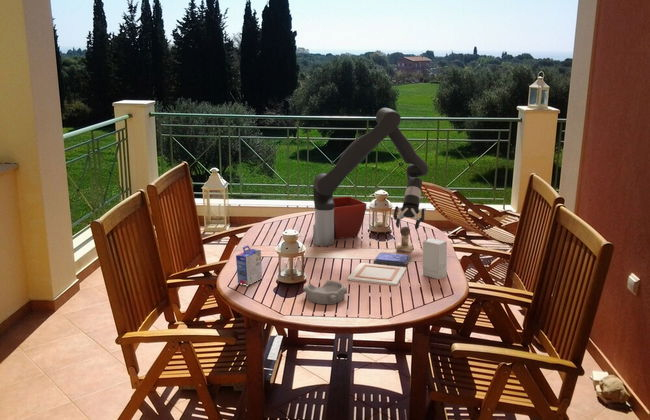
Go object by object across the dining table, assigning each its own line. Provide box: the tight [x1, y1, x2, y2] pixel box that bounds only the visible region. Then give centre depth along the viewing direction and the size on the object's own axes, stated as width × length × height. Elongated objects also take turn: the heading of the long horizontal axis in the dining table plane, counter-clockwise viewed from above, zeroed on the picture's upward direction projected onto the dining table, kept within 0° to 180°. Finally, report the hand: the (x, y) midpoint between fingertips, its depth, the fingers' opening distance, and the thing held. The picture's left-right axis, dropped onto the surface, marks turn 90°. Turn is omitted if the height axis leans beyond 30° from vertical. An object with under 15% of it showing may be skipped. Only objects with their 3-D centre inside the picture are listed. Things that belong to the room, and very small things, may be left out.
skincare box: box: [422, 237, 448, 280], centre depth 255 cm, size 8×6×15 cm
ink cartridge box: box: [235, 245, 263, 285], centre depth 248 cm, size 10×6×14 cm, turn 149°
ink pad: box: [373, 252, 412, 268], centre depth 274 cm, size 14×11×2 cm
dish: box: [303, 280, 348, 305], centre depth 232 cm, size 14×14×5 cm
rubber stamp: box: [395, 226, 414, 254], centre depth 288 cm, size 6×6×11 cm
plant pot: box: [333, 196, 367, 240], centre depth 312 cm, size 19×19×17 cm
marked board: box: [346, 262, 407, 286], centre depth 257 cm, size 20×20×1 cm
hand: (406, 227), depth 291 cm, fingers open, 8 cm apart
